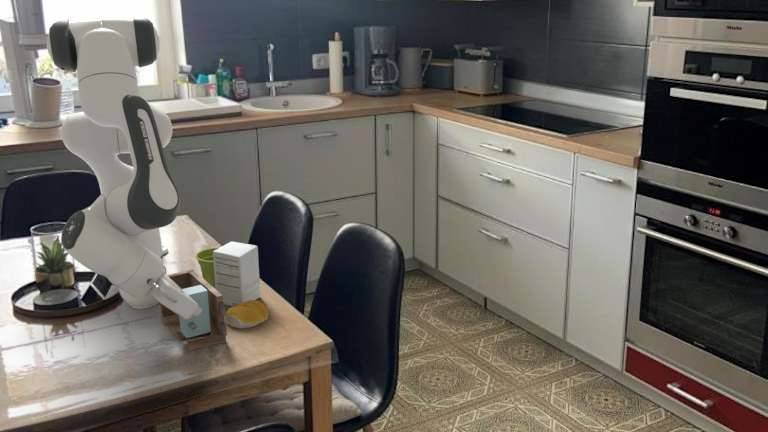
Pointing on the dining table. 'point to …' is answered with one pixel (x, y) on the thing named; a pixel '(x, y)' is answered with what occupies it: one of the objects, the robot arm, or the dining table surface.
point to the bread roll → (246, 314)
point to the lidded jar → (139, 299)
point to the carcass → (215, 311)
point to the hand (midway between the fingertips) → (194, 307)
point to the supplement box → (237, 273)
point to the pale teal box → (201, 322)
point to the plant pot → (207, 264)
